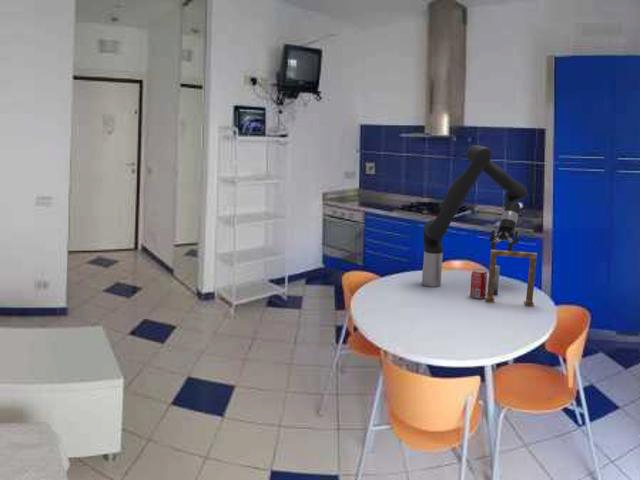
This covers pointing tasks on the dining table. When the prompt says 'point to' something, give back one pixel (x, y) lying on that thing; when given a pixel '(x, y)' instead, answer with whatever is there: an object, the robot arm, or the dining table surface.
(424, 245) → the robot arm
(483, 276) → the soda can
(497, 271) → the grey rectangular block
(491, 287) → the arch
